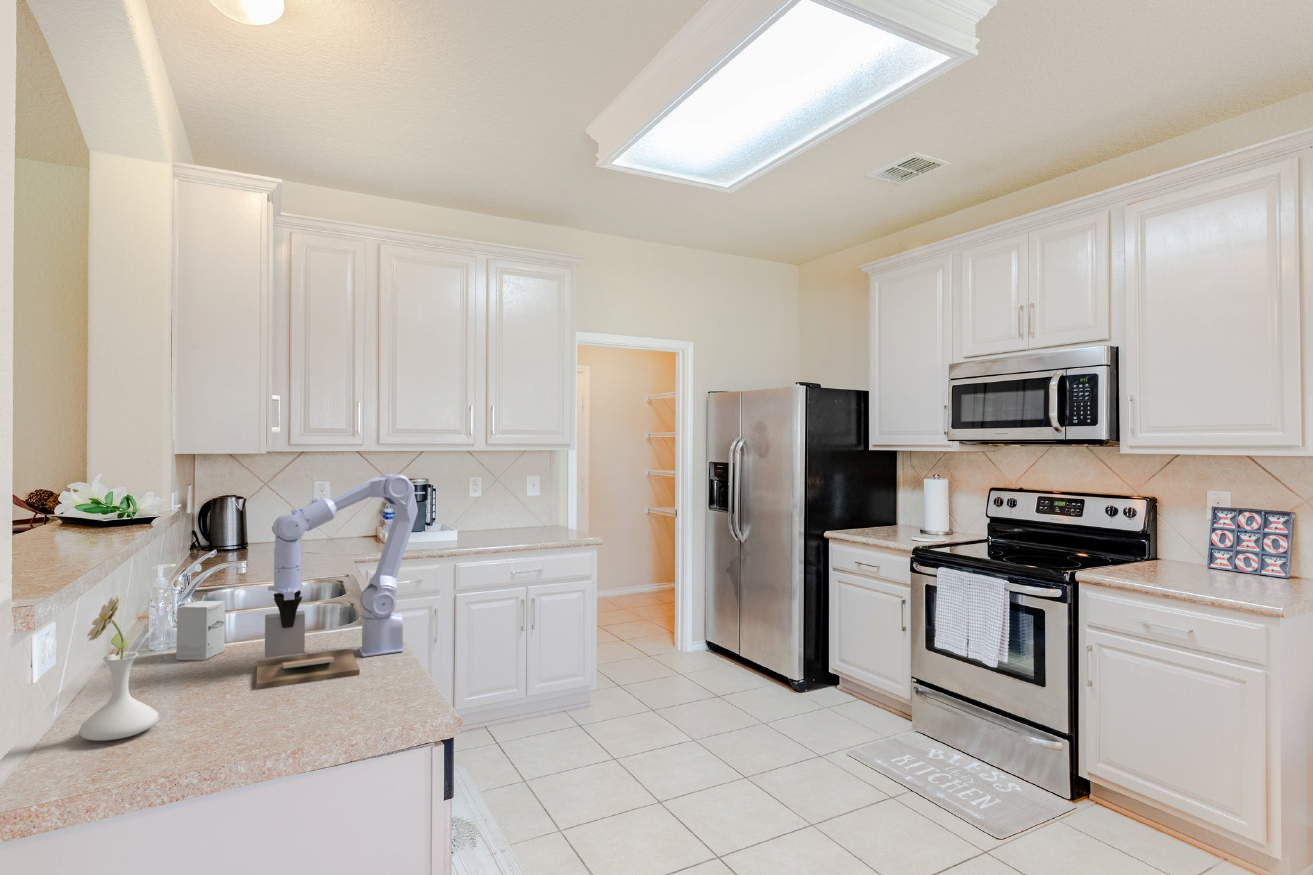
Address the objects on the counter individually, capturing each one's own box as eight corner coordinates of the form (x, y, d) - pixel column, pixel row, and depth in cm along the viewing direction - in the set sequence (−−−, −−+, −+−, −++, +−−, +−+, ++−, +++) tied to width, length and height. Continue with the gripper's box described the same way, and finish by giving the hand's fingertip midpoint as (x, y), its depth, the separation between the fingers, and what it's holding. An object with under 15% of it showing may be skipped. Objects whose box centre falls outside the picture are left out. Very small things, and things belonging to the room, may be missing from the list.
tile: (334, 658, 157) (334, 661, 157) (331, 656, 164) (331, 659, 163) (283, 664, 152) (283, 668, 152) (282, 662, 159) (282, 666, 159)
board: (350, 653, 173) (350, 648, 173) (359, 674, 157) (359, 669, 157) (257, 665, 163) (257, 660, 163) (256, 689, 147) (256, 683, 148)
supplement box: (205, 660, 167) (206, 607, 167) (175, 660, 167) (175, 606, 167) (225, 651, 174) (226, 600, 174) (196, 651, 174) (196, 600, 174)
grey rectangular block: (303, 649, 166) (303, 610, 166) (304, 652, 163) (304, 613, 163) (264, 654, 162) (265, 614, 162) (264, 658, 159) (265, 618, 159)
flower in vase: (90, 726, 128) (92, 588, 128) (165, 717, 132) (167, 584, 133) (64, 756, 116) (66, 604, 116) (148, 744, 121) (149, 598, 121)
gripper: (267, 563, 167) (267, 620, 167) (268, 573, 155) (268, 635, 155) (301, 560, 171) (300, 617, 171) (304, 570, 158) (304, 631, 158)
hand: (287, 625), depth 163 cm, fingers closed on grey rectangular block, 3 cm apart
